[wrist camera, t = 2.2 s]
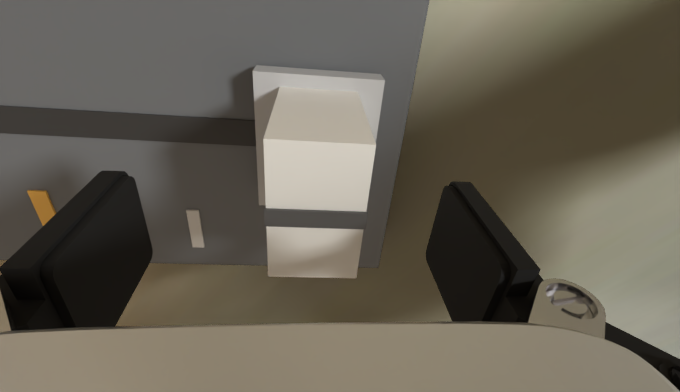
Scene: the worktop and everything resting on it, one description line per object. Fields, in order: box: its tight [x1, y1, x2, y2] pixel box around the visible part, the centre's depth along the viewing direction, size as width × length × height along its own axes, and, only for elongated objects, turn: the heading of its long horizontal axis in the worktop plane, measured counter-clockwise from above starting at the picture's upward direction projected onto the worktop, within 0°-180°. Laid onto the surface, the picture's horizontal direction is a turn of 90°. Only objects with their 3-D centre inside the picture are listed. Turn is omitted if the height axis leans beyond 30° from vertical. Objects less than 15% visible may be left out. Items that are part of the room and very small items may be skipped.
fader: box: [253, 65, 385, 278], centre depth 13 cm, size 5×6×6 cm
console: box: [0, 0, 429, 268], centre depth 17 cm, size 22×16×3 cm
